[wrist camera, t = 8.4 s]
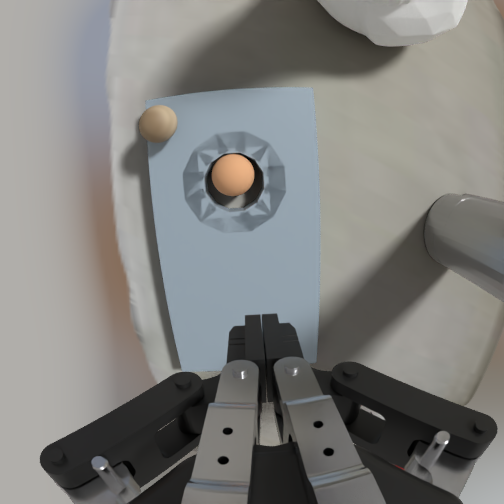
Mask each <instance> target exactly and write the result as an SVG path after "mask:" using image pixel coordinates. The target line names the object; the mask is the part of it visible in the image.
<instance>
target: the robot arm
mask: <svg viewBox="0 0 504 504" xmlns="http://www.w3.org/2000/svg"><path fill="white" fill-rule="evenodd" d="M424 237H425V244H426V248H427V250H428V253H429V254H430V256H431V257H432V258H433V259H434V260H435V261H437V262H439V263H440V264H442V265H444V266H446V267H447V268H449V269H451V270H452V271H454V272H456V273H457V274H459V275H461V276H462V277H464V278H466V279H467V280H469V281H471V282H472V283H474V284H476V285H477V286H479V287H480V288H482V289H484V290H485V291H487V292H488V293H490V294H492V295H493V296H495V297H496V298H498V299H499V300H501V301H502V302H504V202H502V201H498V200H493V199H489V198H485V197H480V196H475V195H471V194H464V195H463V196H462V195H457V194H447V195H444V196H443V197H441V198H439V199H438V200H437V201H436V202H435V203H434V205H433V206H432V208H431V209H430V212H429V214H428V216H427V220H426V223H425V231H424ZM266 387H267V398H268V402H273V403H274V418H275V423H276V427H277V432H278V436H279V440H280V445H278V446H273V447H272V446H263V445H260V429H261V412H262V403H264V402H266ZM361 405H362V406H364V407H366V408H368V409H370V410H372V411H374V412H376V413H378V414H380V415H382V416H383V417H384V419H385V420H383V419H381V418H379V417H377V416H375V415H373V414H371V413H369V412H367V411H365V410H363V409H361ZM174 419H175V420H174ZM172 420H174V421H172ZM171 421H172V422H171ZM170 422H171V423H170ZM168 423H170V424H168ZM167 424H168V425H167ZM165 425H167V426H165ZM164 426H165V427H164ZM162 427H164V428H162ZM161 428H162V429H161ZM159 429H161V430H159ZM158 430H159V431H158ZM496 434H497V425H496V423H495V421H494V420H493V419H492V418H491V417H490V416H488V415H486V414H483V413H480V412H477V411H475V410H472V409H469V408H467V407H464V406H461V405H458V404H456V403H453V402H450V401H448V400H445V399H443V398H440V397H437V396H435V395H432V394H430V393H427V392H425V391H422V390H420V389H417V388H415V387H413V386H410V385H408V384H405V383H403V382H401V381H398V380H396V379H393V378H391V377H389V376H386V375H384V374H382V373H380V372H377V371H375V370H373V369H370V368H368V367H366V366H364V365H361V364H359V363H356V362H343V363H340V364H338V365H336V366H335V367H334V368H333V370H332V372H330V371H320V370H316V369H314V368H312V367H311V366H310V364H309V362H308V361H306V360H305V359H304V356H303V353H302V350H301V346H300V343H299V339H298V336H297V333H296V329H295V327H293V326H292V325H291V324H290V323H279V320H278V315H277V313H272V314H262V326H261V316H260V314H256V315H245V325H243V326H234V327H233V328H232V329H231V330H230V331H229V340H228V350H227V362H226V365H225V366H224V367H223V368H222V371H221V374H219V375H217V376H215V377H213V378H209V379H205V380H201V378H200V377H199V376H198V375H197V374H195V373H192V372H179V373H176V374H173V375H171V376H170V377H168V378H167V379H165V380H163V381H162V382H160V383H159V384H157V385H155V386H154V387H152V388H150V389H149V390H147V391H145V392H144V393H142V394H140V395H139V396H137V397H135V398H134V399H132V400H130V401H129V402H127V403H126V404H124V405H122V406H120V407H118V408H117V409H115V410H113V411H111V412H110V413H108V414H106V415H104V416H103V417H101V418H99V419H97V420H95V421H94V422H92V423H90V424H88V425H86V426H84V427H83V428H81V429H79V430H77V431H75V432H73V433H71V434H69V435H67V436H66V437H64V438H62V439H60V440H58V441H56V442H54V443H52V444H50V445H48V446H47V447H46V448H45V449H44V450H43V451H42V453H41V455H40V463H41V466H42V467H43V469H44V470H45V471H46V472H47V473H48V474H49V476H50V477H51V478H52V479H53V480H54V482H55V483H56V484H57V485H58V486H59V487H60V488H61V489H62V490H63V491H64V492H65V493H66V494H67V495H68V496H69V497H70V499H71V500H72V502H73V503H74V504H463V503H462V501H461V500H460V499H459V496H460V494H461V492H462V490H463V488H464V486H465V484H466V482H467V480H468V478H469V476H470V474H471V472H472V469H473V467H474V465H475V463H476V462H477V460H478V459H479V458H480V457H481V455H482V454H483V452H484V451H485V450H486V449H487V447H488V446H489V445H490V443H491V442H492V441H493V439H494V438H495V436H496ZM353 443H354V444H353ZM355 444H356V445H355ZM198 445H199V447H198V451H197V454H196V455H194V456H192V457H190V458H188V459H186V460H184V461H183V462H181V463H180V464H179V465H177V466H176V467H175V468H174V469H172V470H171V471H170V472H169V473H167V474H166V475H165V476H164V477H163V478H161V479H160V480H158V481H157V482H156V483H155V484H153V485H152V486H151V487H149V488H148V489H146V490H145V491H144V492H142V493H141V490H140V488H141V487H142V486H144V485H145V484H147V483H148V482H150V481H151V480H153V479H154V478H155V477H157V476H158V475H160V474H161V473H162V472H164V471H165V470H167V469H168V468H169V467H171V466H172V465H173V464H175V463H176V462H177V461H178V460H180V459H181V458H183V457H184V456H185V455H187V454H188V453H189V452H190V451H192V450H193V449H194V448H195V447H197V446H198ZM393 464H394V465H393ZM395 465H396V466H395ZM397 466H398V467H397ZM399 467H400V468H399ZM401 468H402V469H401ZM403 469H404V470H403ZM140 493H141V494H140Z"/></svg>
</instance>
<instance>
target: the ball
mask: <svg viewBox="0 0 504 504" xmlns="http://www.w3.org/2000/svg"><path fill="white" fill-rule="evenodd" d="M212 181H213V184H214V186H215V187H216V189H217V190H218V191H220V192H221V193H223V194H225V195H228V196H238V195H241V194H243V193H245V192H246V191H247V190H248V189H249V188H250V187H251V185H252V183H253V181H254V169H253V166H252V164H251V163H250V162H249V160H247V159H246V158H245V157H243V156H241V155H238V154H229V155H225V156H223V157H221V158H220V159H219V160H218V161H217V162H216V163H215V165H214V167H213V169H212Z"/></svg>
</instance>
